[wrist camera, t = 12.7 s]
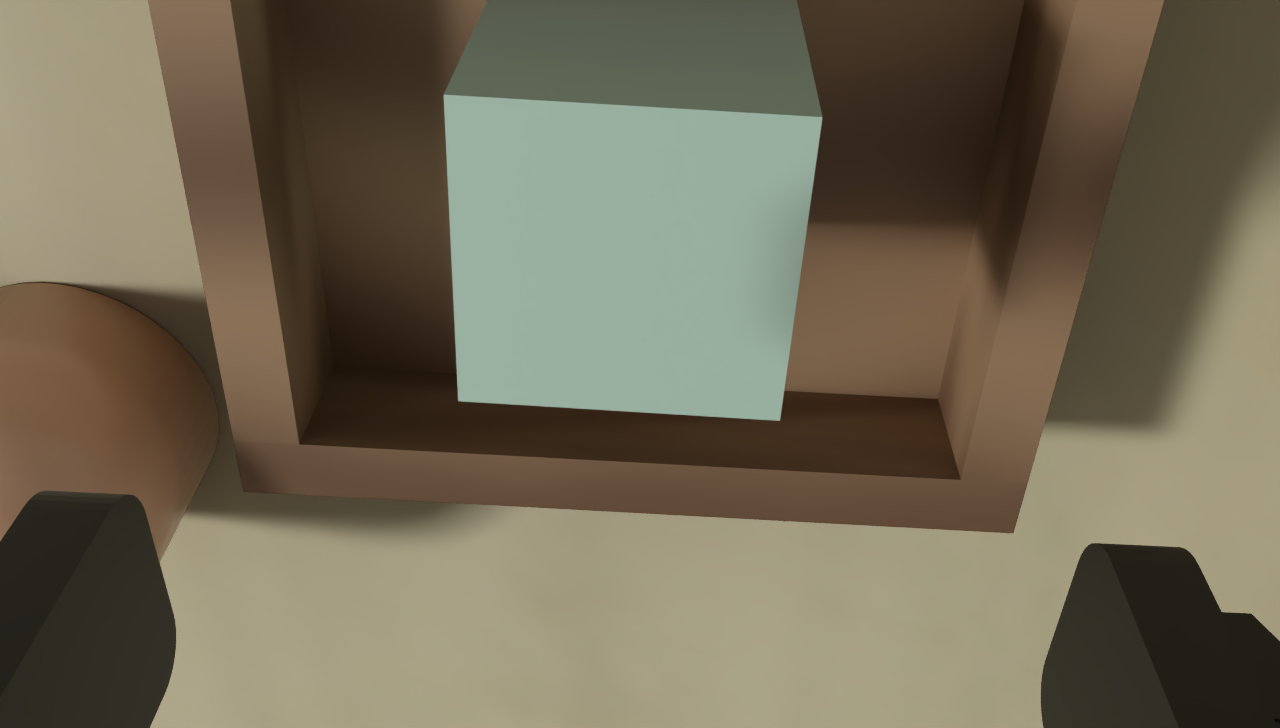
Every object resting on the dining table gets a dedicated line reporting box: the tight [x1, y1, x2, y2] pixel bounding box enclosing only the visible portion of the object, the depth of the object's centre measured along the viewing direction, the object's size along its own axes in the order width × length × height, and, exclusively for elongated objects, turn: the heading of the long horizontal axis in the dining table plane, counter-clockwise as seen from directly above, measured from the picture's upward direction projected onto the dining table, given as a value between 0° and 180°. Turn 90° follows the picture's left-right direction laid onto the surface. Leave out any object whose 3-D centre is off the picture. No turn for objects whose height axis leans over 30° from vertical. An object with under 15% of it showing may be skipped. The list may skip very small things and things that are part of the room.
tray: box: [148, 0, 1164, 533], centre depth 20 cm, size 14×14×4 cm
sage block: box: [444, 0, 822, 421], centre depth 18 cm, size 4×4×6 cm
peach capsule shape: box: [0, 283, 219, 563], centre depth 23 cm, size 6×6×6 cm
